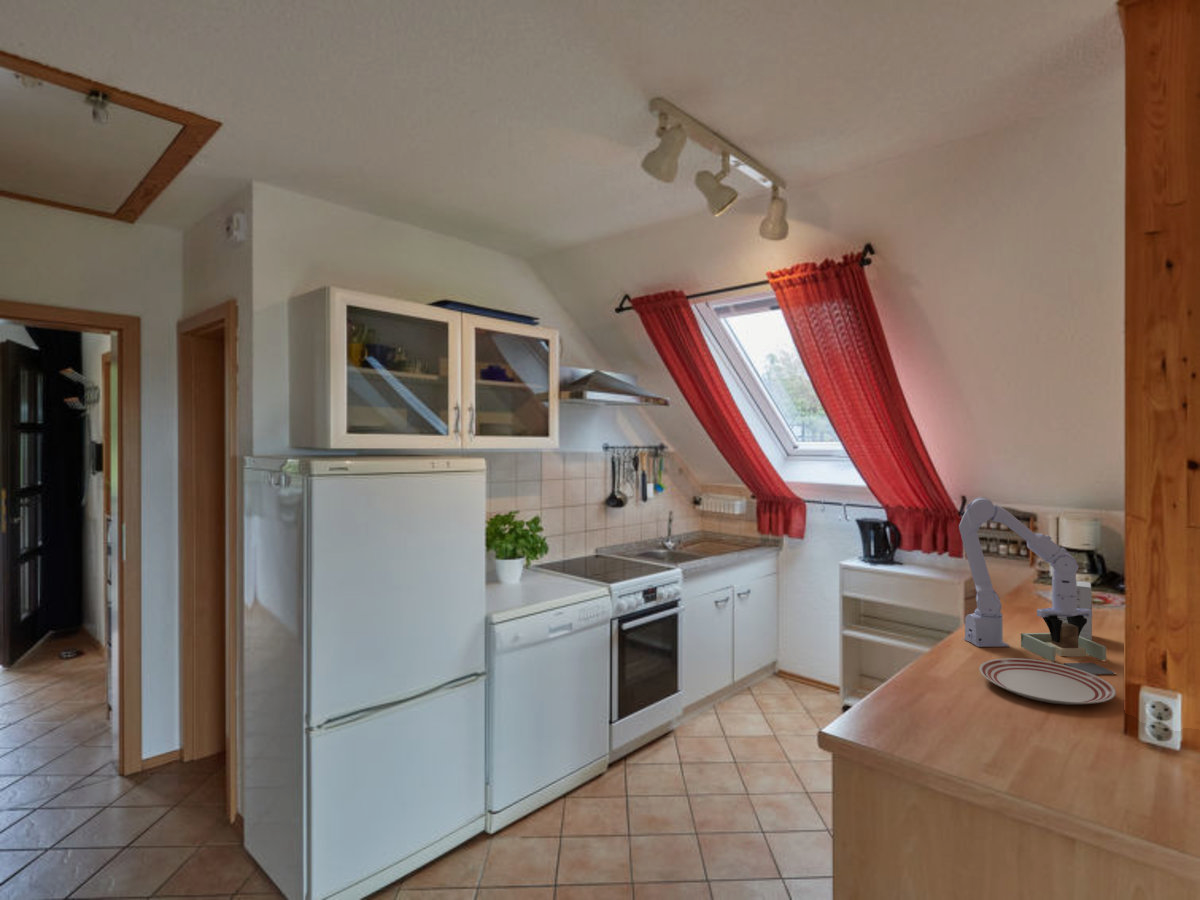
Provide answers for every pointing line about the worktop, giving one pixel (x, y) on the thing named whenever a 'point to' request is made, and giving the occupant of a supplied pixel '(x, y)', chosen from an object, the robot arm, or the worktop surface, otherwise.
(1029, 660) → the dinner plate
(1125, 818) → the worktop surface
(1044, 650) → the crate
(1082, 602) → the supplement box
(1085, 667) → the mat
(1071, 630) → the block
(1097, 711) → the worktop surface
